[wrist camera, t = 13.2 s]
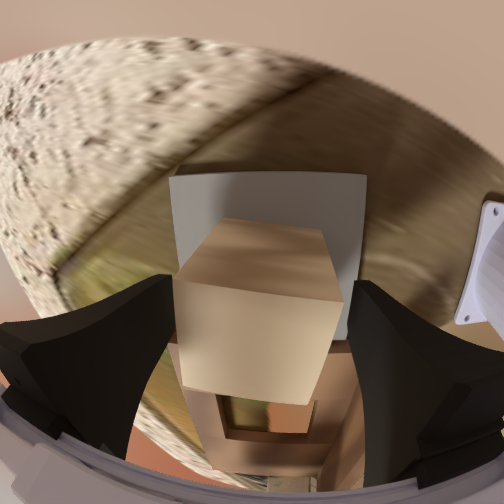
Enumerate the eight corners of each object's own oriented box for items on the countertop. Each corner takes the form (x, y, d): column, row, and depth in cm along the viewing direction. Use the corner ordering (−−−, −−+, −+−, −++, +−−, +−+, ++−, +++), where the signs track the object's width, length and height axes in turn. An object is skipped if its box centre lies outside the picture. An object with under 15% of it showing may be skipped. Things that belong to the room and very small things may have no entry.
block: (321, 229, 12) (344, 302, 7) (304, 311, 14) (307, 405, 8) (223, 217, 12) (172, 278, 7) (219, 300, 14) (182, 385, 9)
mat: (363, 174, 11) (367, 175, 11) (344, 333, 15) (346, 340, 14) (173, 175, 13) (168, 176, 12) (194, 327, 16) (191, 333, 15)
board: (381, 338, 15) (407, 418, 9) (327, 467, 23) (326, 511, 17) (173, 330, 16) (133, 402, 11) (215, 461, 24) (204, 503, 19)
